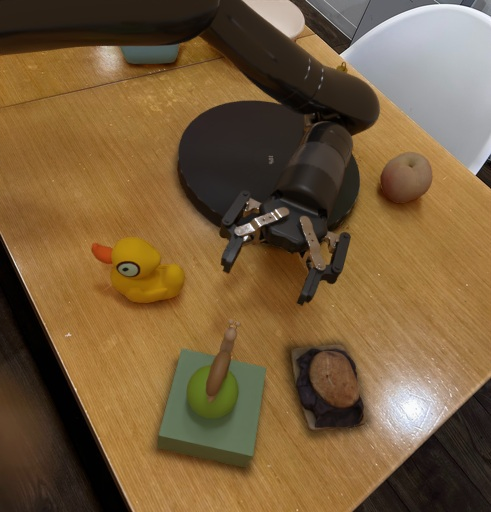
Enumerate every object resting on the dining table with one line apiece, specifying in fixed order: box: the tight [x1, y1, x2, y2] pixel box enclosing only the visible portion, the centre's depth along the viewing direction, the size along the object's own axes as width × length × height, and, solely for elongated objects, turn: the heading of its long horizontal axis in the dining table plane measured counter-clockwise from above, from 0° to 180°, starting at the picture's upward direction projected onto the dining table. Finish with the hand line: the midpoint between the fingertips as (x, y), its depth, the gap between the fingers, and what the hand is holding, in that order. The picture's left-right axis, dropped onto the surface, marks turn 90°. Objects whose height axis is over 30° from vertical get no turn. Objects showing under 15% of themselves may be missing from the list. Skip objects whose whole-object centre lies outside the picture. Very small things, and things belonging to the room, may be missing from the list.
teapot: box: [118, 44, 180, 65], centre depth 92 cm, size 12×18×12 cm
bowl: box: [243, 0, 306, 43], centre depth 100 cm, size 19×19×8 cm
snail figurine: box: [186, 318, 241, 419], centre depth 49 cm, size 5×6×12 cm
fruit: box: [379, 151, 434, 204], centre depth 82 cm, size 8×8×8 cm
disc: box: [176, 99, 361, 245], centre depth 81 cm, size 30×30×3 cm
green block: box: [156, 347, 267, 469], centre depth 56 cm, size 10×10×5 cm
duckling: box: [90, 236, 186, 304], centre depth 62 cm, size 11×5×10 cm, turn 86°
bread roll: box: [290, 343, 366, 433], centre depth 61 cm, size 11×8×4 cm
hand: (263, 284), depth 52 cm, fingers open, 8 cm apart
